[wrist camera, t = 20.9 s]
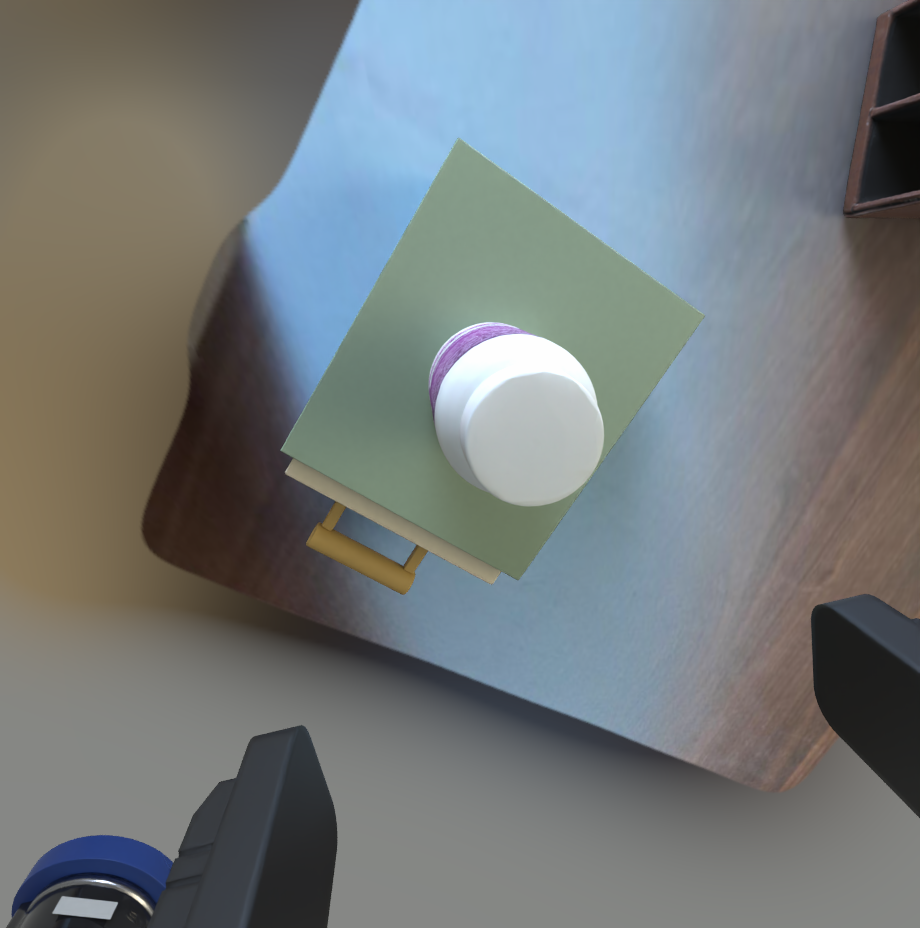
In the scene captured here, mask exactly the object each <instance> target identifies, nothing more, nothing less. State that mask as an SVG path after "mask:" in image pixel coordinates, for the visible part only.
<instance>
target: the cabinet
mask: <svg viewBox="0 0 920 928" xmlns="http://www.w3.org/2000/svg"><path fill="white" fill-rule="evenodd" d="M704 317H705V315H704V314H702V313H701V312H700V311H698V310H697V309H695V308H694V307H693V306H691V305H690V304H688V303H687V302H686V301H684V300H683V299H682V298H680V297H679V296H677V295H676V294H675V293H673V292H672V291H670V290H669V289H668V288H666V287H665V286H664V285H662V284H661V283H659V282H658V281H657V280H655V279H654V278H653V277H651V276H650V275H648V274H647V273H646V272H644V271H643V270H641V269H640V268H639V267H637V266H636V265H635V264H633V263H632V262H630V261H629V260H628V259H626V258H625V257H623V256H622V255H621V254H619V253H618V252H617V251H615V250H614V249H612V248H611V247H610V246H608V245H607V244H606V243H604V242H603V241H601V240H600V239H599V238H597V237H596V236H594V235H593V234H592V233H590V232H589V231H588V230H586V229H585V228H583V227H582V226H581V225H579V224H578V223H576V222H575V221H574V220H572V219H571V218H570V217H568V216H567V215H565V214H564V213H563V212H561V211H560V210H559V209H557V208H556V207H554V206H553V205H552V204H550V203H549V202H547V201H546V200H545V199H543V198H542V197H541V196H539V195H538V194H536V193H535V192H534V191H532V190H531V189H529V188H528V187H527V186H525V185H524V184H523V183H521V182H520V181H518V180H517V179H516V178H514V177H513V176H511V175H510V174H509V173H507V172H506V171H505V170H503V169H502V168H500V167H499V166H498V165H496V164H495V163H494V162H492V161H491V160H489V159H488V158H487V157H485V156H484V155H482V154H481V153H480V152H478V151H477V150H476V149H474V148H473V147H471V146H470V145H469V144H467V143H466V142H464V141H463V140H462V139H460V138H457V140H456V142H455V144H454V146H453V147H452V149H451V151H450V153H449V154H448V156H447V158H446V160H445V161H444V163H443V165H442V167H441V168H440V170H439V172H438V174H437V175H436V177H435V179H434V181H433V183H432V184H431V186H430V188H429V190H428V191H427V193H426V195H425V197H424V198H423V200H422V202H421V204H420V205H419V207H418V209H417V211H416V212H415V214H414V216H413V218H412V220H411V221H410V223H409V225H408V227H407V228H406V230H405V232H404V234H403V235H402V237H401V239H400V241H399V242H398V244H397V246H396V248H395V249H394V251H393V253H392V255H391V257H390V258H389V260H388V262H387V264H386V265H385V267H384V269H383V271H382V272H381V274H380V276H379V278H378V279H377V281H376V283H375V285H374V286H373V288H372V290H371V292H370V294H369V295H368V297H367V299H366V301H365V302H364V304H363V306H362V308H361V309H360V311H359V313H358V315H357V316H356V318H355V320H354V322H353V323H352V325H351V327H350V329H349V331H348V332H347V334H346V336H345V338H344V339H343V341H342V343H341V345H340V346H339V348H338V350H337V352H336V353H335V355H334V357H333V359H332V360H331V362H330V364H329V366H328V368H327V369H326V371H325V373H324V375H323V376H322V378H321V380H320V382H319V383H318V385H317V387H316V389H315V390H314V392H313V394H312V396H311V398H310V399H309V401H308V403H307V405H306V406H305V408H304V410H303V412H302V413H301V415H300V417H299V419H298V420H297V422H296V424H295V426H294V427H293V429H292V431H291V433H290V435H289V436H288V438H287V440H286V442H285V443H284V445H283V447H282V449H281V451H282V452H283V453H285V454H287V455H289V456H291V457H293V458H294V459H296V460H298V461H300V462H302V463H304V464H305V465H307V466H309V467H311V468H313V469H315V470H316V471H318V472H320V473H322V474H324V475H326V476H327V477H329V478H331V479H333V480H335V481H337V482H338V483H340V484H342V485H344V486H346V487H348V488H349V489H351V490H353V491H355V492H357V493H359V494H360V495H362V496H364V497H366V498H368V499H370V500H371V501H373V502H375V503H377V504H379V505H381V506H382V507H384V508H386V509H388V510H390V511H392V512H393V513H395V514H397V515H399V516H401V517H403V518H404V519H406V520H408V521H410V522H412V523H414V524H415V525H417V526H419V527H421V528H423V529H425V530H426V531H428V532H430V533H432V534H434V535H436V536H437V537H439V538H441V539H443V540H445V541H447V542H448V543H450V544H452V545H454V546H456V547H458V548H459V549H461V550H463V551H465V552H467V553H469V554H470V555H472V556H474V557H476V558H478V559H480V560H481V561H483V562H485V563H487V564H489V565H491V566H492V567H494V568H496V569H498V570H500V571H502V572H503V573H505V574H507V575H509V576H511V577H513V578H514V579H516V580H519V579H520V578H521V576H522V575H523V574H524V572H525V571H526V569H527V568H528V566H529V565H530V564H531V562H532V561H533V559H534V558H535V557H536V555H537V554H538V552H539V551H540V549H541V548H542V547H543V545H544V544H545V542H546V541H547V539H548V538H549V537H550V535H551V534H552V532H553V531H554V530H555V528H556V527H557V525H558V524H559V522H560V521H561V520H562V518H563V517H564V515H565V514H566V513H567V511H568V510H569V508H570V507H571V505H572V504H573V503H574V501H575V500H576V498H577V497H578V496H579V494H580V493H581V491H582V490H583V488H584V487H585V486H586V484H587V483H588V481H589V480H590V478H591V477H592V476H593V474H594V473H595V471H596V470H597V469H598V467H599V466H600V464H601V463H602V461H603V460H604V459H605V457H606V456H607V454H608V453H609V452H610V450H611V449H612V447H613V446H614V444H615V443H616V442H617V440H618V439H619V437H620V436H621V434H622V433H623V432H624V430H625V429H626V427H627V426H628V425H629V423H630V422H631V420H632V419H633V417H634V416H635V415H636V413H637V412H638V410H639V409H640V408H641V406H642V405H643V403H644V402H645V400H646V399H647V398H648V396H649V395H650V393H651V392H652V390H653V389H654V388H655V386H656V385H657V383H658V382H659V381H660V379H661V378H662V376H663V375H664V373H665V372H666V371H667V369H668V368H669V366H670V365H671V364H672V362H673V361H674V359H675V358H676V356H677V355H678V354H679V352H680V351H681V349H682V348H683V347H684V345H685V344H686V342H687V341H688V339H689V338H690V337H691V335H692V334H693V332H694V331H695V329H696V328H697V327H698V325H699V324H700V322H701V321H702V320H703V318H704ZM486 322H494V323H503V324H507V325H511V326H514V327H517V328H519V329H521V330H524V331H526V332H528V333H531V334H533V335H536V336H539V337H542V338H544V339H546V340H549V341H551V342H553V343H555V344H556V345H558V346H560V347H562V348H563V349H565V350H566V351H567V352H569V353H570V354H571V355H572V356H573V357H574V358H575V359H576V360H577V361H578V362H579V363H580V364H581V366H582V367H583V368H584V370H585V371H586V373H587V375H588V376H589V378H590V380H591V383H592V385H593V388H594V391H595V395H596V399H597V406H598V408H599V410H600V413H601V416H602V420H603V426H604V442H603V448H602V453H601V456H600V459H599V461H598V464H597V466H596V468H595V469H594V471H593V473H592V474H591V476H590V477H589V478H588V479H587V480H586V481H585V483H584V484H583V485H582V486H580V487H579V488H578V489H577V490H576V491H575V492H573V493H572V494H570V495H569V496H567V497H565V498H564V499H561V500H559V501H557V502H554V503H551V504H547V505H542V506H519V505H514V504H510V503H507V502H505V501H502V500H500V499H498V498H496V497H495V496H493V495H492V494H490V493H489V492H486V491H483V490H481V489H479V488H477V487H475V486H473V485H472V484H470V483H469V482H467V481H466V480H465V479H463V478H462V477H461V476H460V475H459V474H458V473H457V472H456V471H455V470H454V469H453V467H452V466H451V465H450V463H449V462H448V460H447V459H446V457H445V455H444V453H443V451H442V449H441V447H440V444H439V441H438V437H437V433H436V428H435V425H434V421H433V414H432V408H431V403H430V397H429V375H430V370H431V367H432V364H433V362H434V359H435V357H436V355H437V353H438V352H439V350H440V349H441V347H442V346H443V345H444V344H445V343H446V342H447V341H448V340H449V339H450V338H451V337H452V336H453V335H455V334H456V333H458V332H459V331H461V330H463V329H465V328H467V327H470V326H472V325H476V324H480V323H486Z"/></svg>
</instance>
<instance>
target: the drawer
mask: <svg viewBox="0 0 920 928" xmlns="http://www.w3.org/2000/svg"><path fill="white" fill-rule="evenodd" d="M285 474H286V475H288V476H290V477H292V478H293V479H295V480H297V481H299V482H301V483H303V484H305V485H307V486H308V487H310V488H312V489H314V490H316V491H318V492H320V493H321V494H323V495H325V496H327V497H329V498H331V499H333V500H334V501H335V503H334V505H333V506H332V508H331V510H330V511H329V513H328V515H327V516H326V518H325V520H324V521H323V524H322V523H320V522H319V523H318V524H317V525H316V526H315V528H314V530H313V531H312V533H311V535H310V537H309V539H308V541H307V543H306V545H307V546H308V547H310V548H312V549H314V550H316V551H318V552H320V553H322V554H324V555H326V556H328V557H330V558H332V559H334V560H336V561H338V562H340V563H341V564H343V565H345V566H347V567H349V568H351V569H353V570H355V571H357V572H359V573H361V574H363V575H365V576H367V577H369V578H371V579H373V580H375V581H377V582H379V583H380V584H382V585H384V586H386V587H388V588H390V589H392V590H394V591H396V592H398V593H400V594H402V595H404V594H406V593H407V592H408V590H409V589H410V587H411V585H412V583H413V581H414V578H415V570H416V568H417V567H418V565H419V564H420V562H421V561H422V559H423V558H424V556H425V555H426V553H427V552H428V551H429V552H431V553H433V554H435V555H437V556H439V557H441V558H442V559H444V560H446V561H448V562H450V563H452V564H454V565H455V566H457V567H459V568H461V569H463V570H465V571H467V572H468V573H470V574H472V575H474V576H476V577H478V578H480V579H482V580H483V581H485V582H487V583H489V584H491V585H492V584H493V583H494V582H495V580H496V579H497V577H498V576H499V574H500V573H501V571H500V570H498V569H496V568H494V567H492V566H491V565H489V564H487V563H485V562H483V561H481V560H480V559H478V558H476V557H474V556H472V555H470V554H469V553H467V552H465V551H463V550H461V549H459V548H458V547H456V546H454V545H452V544H450V543H448V542H447V541H445V540H443V539H441V538H439V537H437V536H436V535H434V534H432V533H430V532H428V531H426V530H425V529H423V528H421V527H419V526H417V525H415V524H414V523H412V522H410V521H408V520H406V519H404V518H403V517H401V516H399V515H397V514H395V513H393V512H392V511H390V510H388V509H386V508H384V507H382V506H381V505H379V504H377V503H375V502H373V501H371V500H370V499H368V498H366V497H364V496H362V495H360V494H359V493H357V492H355V491H353V490H351V489H349V488H348V487H346V486H344V485H342V484H340V483H338V482H337V481H335V480H333V479H331V478H329V477H327V476H326V475H324V474H322V473H320V472H318V471H316V470H315V469H313V468H311V467H309V466H307V465H305V464H304V463H302V462H300V461H298V460H296V459H294V458H293V459H292V461H291V463H290V464H289V466H288V468H287V470H286V471H285ZM346 507H347V508H349V509H351V510H353V511H355V512H357V513H359V514H361V515H362V516H364V517H366V518H368V519H370V520H372V521H374V522H375V523H377V524H379V525H381V526H383V527H385V528H387V529H388V530H390V531H392V532H394V533H396V534H398V535H400V536H401V537H403V538H405V539H407V540H409V541H411V542H413V543H414V544H416V547H415V548H414V550H413V551H412V553H411V555H410V556H409V558H408V559H407V561H406V562H405V564H404V566H402V565H400V564H399V563H397V562H395V561H393V560H391V559H389V558H387V557H385V556H383V555H381V554H380V553H378V552H376V551H374V550H372V549H370V548H368V547H366V546H364V545H362V544H360V543H359V542H357V541H355V540H353V539H351V538H349V537H347V536H345V535H343V534H341V533H340V532H338V531H336V530H334V529H333V528H334V526H335V525H336V523H337V522H338V520H339V518H340V517H341V515H342V513H343V512H344V510H345V508H346Z"/></svg>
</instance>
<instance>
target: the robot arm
mask: <svg viewBox="0 0 920 928" xmlns="http://www.w3.org/2000/svg"><path fill="white" fill-rule="evenodd" d="M811 629H812V653H813V677H814V691H815V696H816V699H817V702H818V705H819V707H820V709H821V711H822V713H823V715H824V717H825V719H826V720H827V722H828V723H829V725H830V726H831V727H832V729H833V730H834V731H835V732H836V733H837V734H838V735H839V736H840V737H841V738H842V739H843V740H844V741H845V742H846V743H847V744H848V745H849V746H850V747H851V748H852V749H853V751H855V753H857V755H858V756H859V757H860V758H861V759H862V760H863V761H864V762H865V763H866V764H867V765H868V766H869V767H870V768H871V769H872V770H873V771H874V772H875V773H876V774H877V775H878V776H879V777H880V778H881V779H882V780H883V781H884V782H885V783H886V784H887V785H888V786H889V787H890V788H891V789H892V790H893V791H894V792H895V793H896V794H897V795H898V796H899V797H900V798H901V799H902V800H903V801H904V802H905V803H906V804H907V806H908V807H910V809H911V810H912V811H913V812H914V813H915V814H916V815H917V816H918V817H919V818H920V619H918V618H915V619H909V618H908V617H906V616H905V615H903V614H902V613H900V612H899V611H897V610H895V609H894V608H892V607H891V606H889V605H888V604H886V603H885V602H883V601H881V600H880V599H878V598H877V597H875V596H872V595H869V594H863V595H858V596H854V597H850V598H846V599H841V600H837V601H833V602H829V603H824V604H820V605H817V606H815V608H814V609H813V611H812V615H811ZM178 852H179V858H177V859H175V861H174V863H173V866H172V868H171V870H170V873H169V875H168V878H167V880H166V889H165V890H164V891H162V892H161V895H160V897H159V900H158V902H157V904H156V902H155V901H154V899H153V898H152V897H151V896H150V894H149V893H148V892H146V891H145V890H144V889H143V888H141V887H140V886H138V885H137V884H135V883H133V882H131V881H129V880H127V879H125V878H122V877H119V876H115V875H111V874H106V873H94V872H89V873H77V874H72V875H68V876H65V877H62V878H59V879H57V880H55V881H53V882H51V883H50V884H48V885H47V886H45V887H44V888H43V889H42V890H41V891H40V892H39V893H38V894H37V895H36V897H35V898H34V900H32V901H30V902H25V903H22V904H21V905H20V906H19V908H18V910H17V911H16V913H15V914H14V916H13V918H12V919H11V921H10V922H9V924H8V925H7V927H6V928H327V924H328V916H329V907H330V899H331V891H332V883H333V876H334V868H335V860H336V852H337V823H336V815H335V809H334V805H333V802H332V799H331V795H330V793H329V790H328V787H327V784H326V781H325V778H324V775H323V772H322V770H321V766H320V763H319V761H318V758H317V755H316V752H315V749H314V746H313V743H312V740H311V737H310V735H309V732H308V731H307V729H306V728H305V727H304V726H302V725H301V726H297V727H292V728H288V729H284V730H279V731H275V732H271V733H267V734H262V735H258V736H255V737H253V738H252V739H251V740H250V742H249V744H248V746H247V749H246V752H245V755H244V757H243V760H242V763H241V766H240V769H239V772H238V775H237V777H236V778H234V779H230V780H226V781H221V782H219V783H218V785H217V786H216V787H215V788H214V790H213V791H212V792H211V793H210V795H209V796H208V797H207V798H206V800H205V801H204V802H203V804H202V805H201V806H200V807H199V809H198V810H197V811H196V812H195V814H194V815H193V817H192V819H191V822H190V824H189V827H188V829H187V832H186V834H185V836H184V839H183V842H182V844H181V846H180V849H179V851H178Z"/></svg>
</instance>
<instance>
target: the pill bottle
mask: <svg viewBox="0 0 920 928" xmlns="http://www.w3.org/2000/svg"><path fill="white" fill-rule="evenodd" d="M429 397H430V403H431V408H432V414H433V421H434V425H435V428H436V433H437V437H438V441H439V444H440V447H441V449H442V451H443V453H444V455H445V457H446V459H447V460H448V462H449V463H450V465H451V466H452V467H453V469H454V470H455V471H456V472H457V473H458V474H459V475H460V476H461V477H462V478H463V479H465V480H466V481H467V482H469V483H470V484H472V485H473V486H475V487H477V488H479V489H481V490H483V491H486V492H489V493H490V494H492V495H493V496H495V497H496V498H498V499H500V500H502V501H505V502H507V503H510V504H514V505H519V506H542V505H547V504H551V503H554V502H557V501H559V500H561V499H564V498H565V497H567V496H569V495H570V494H572V493H573V492H575V491H576V490H577V489H578V488H579V487H580V486H582V485H583V484H584V483H585V481H586V480H587V479H588V478H589V477H590V476H591V474H592V473H593V471H594V469H595V468H596V466H597V464H598V461H599V459H600V456H601V453H602V448H603V442H604V426H603V420H602V416H601V413H600V410H599V408H598V406H597V399H596V395H595V391H594V388H593V385H592V383H591V380H590V378H589V376H588V375H587V373H586V371H585V370H584V368H583V367H582V366H581V364H580V363H579V362H578V361H577V360H576V359H575V358H574V357H573V356H572V355H571V354H570V353H569V352H567V351H566V350H565V349H563V348H562V347H560V346H558V345H556V344H555V343H553V342H551V341H549V340H546V339H544V338H542V337H539V336H536V335H533V334H531V333H528V332H526V331H524V330H521V329H519V328H517V327H514V326H511V325H507V324H503V323H494V322H486V323H480V324H476V325H472V326H470V327H467V328H465V329H463V330H461V331H459V332H458V333H456V334H455V335H453V336H452V337H451V338H450V339H449V340H448V341H447V342H446V343H445V344H444V345H443V346H442V347H441V349H440V350H439V352H438V353H437V355H436V357H435V359H434V362H433V364H432V367H431V370H430V375H429Z"/></svg>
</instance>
